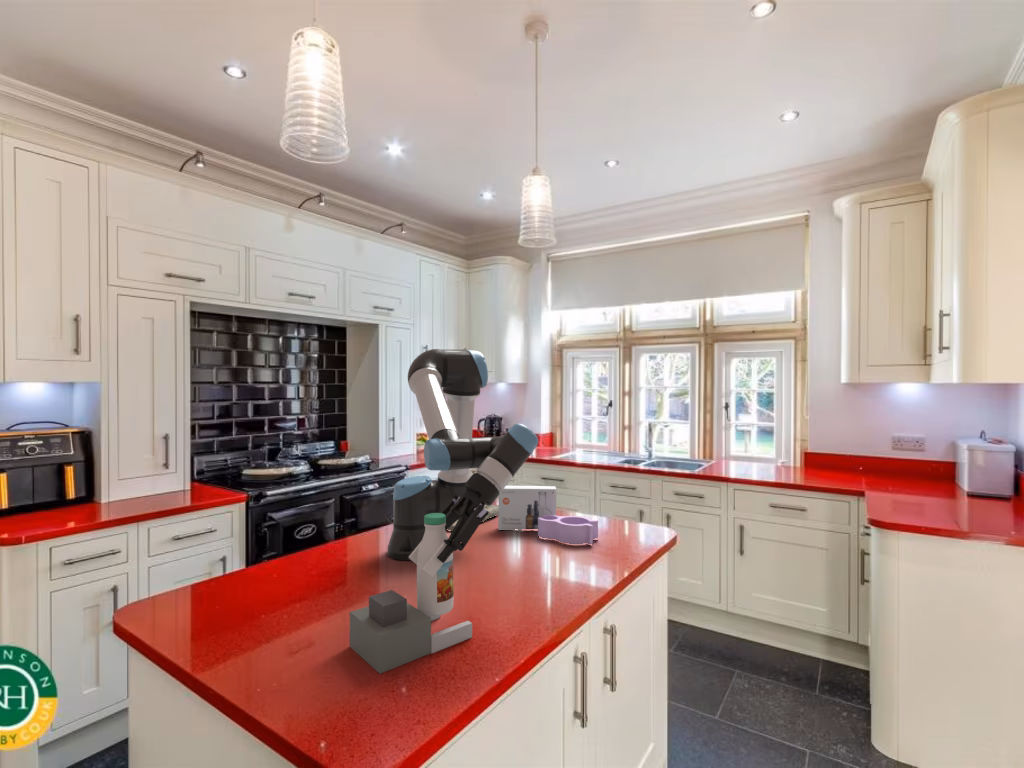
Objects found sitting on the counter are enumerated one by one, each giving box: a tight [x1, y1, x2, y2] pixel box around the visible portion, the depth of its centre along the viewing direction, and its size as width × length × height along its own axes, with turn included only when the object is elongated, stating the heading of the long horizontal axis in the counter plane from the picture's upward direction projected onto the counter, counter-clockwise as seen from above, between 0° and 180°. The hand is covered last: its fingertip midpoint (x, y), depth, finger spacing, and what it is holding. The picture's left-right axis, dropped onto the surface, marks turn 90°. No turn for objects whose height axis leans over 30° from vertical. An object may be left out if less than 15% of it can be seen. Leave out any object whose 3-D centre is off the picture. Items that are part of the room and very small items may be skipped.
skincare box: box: [497, 485, 557, 530], centre depth 188 cm, size 21×6×16 cm, turn 90°
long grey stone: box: [448, 504, 498, 531], centre depth 201 cm, size 35×5×10 cm
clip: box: [537, 514, 599, 544], centre depth 177 cm, size 20×12×7 cm, turn 65°
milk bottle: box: [416, 513, 455, 616], centre depth 109 cm, size 8×8×20 cm
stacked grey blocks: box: [349, 589, 473, 674], centre depth 106 cm, size 14×21×11 cm, turn 132°
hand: (420, 566), depth 108 cm, fingers closed on milk bottle, 7 cm apart
